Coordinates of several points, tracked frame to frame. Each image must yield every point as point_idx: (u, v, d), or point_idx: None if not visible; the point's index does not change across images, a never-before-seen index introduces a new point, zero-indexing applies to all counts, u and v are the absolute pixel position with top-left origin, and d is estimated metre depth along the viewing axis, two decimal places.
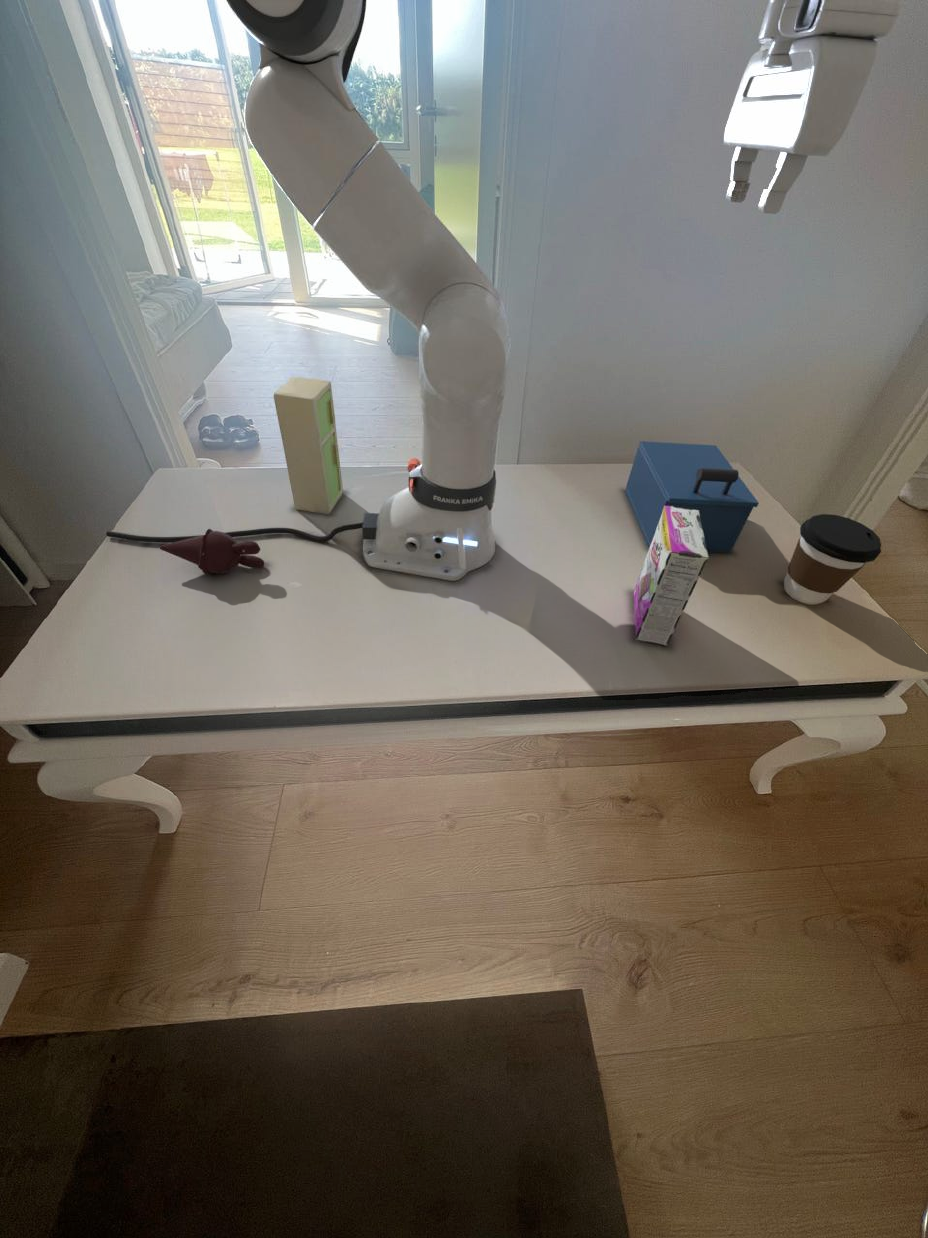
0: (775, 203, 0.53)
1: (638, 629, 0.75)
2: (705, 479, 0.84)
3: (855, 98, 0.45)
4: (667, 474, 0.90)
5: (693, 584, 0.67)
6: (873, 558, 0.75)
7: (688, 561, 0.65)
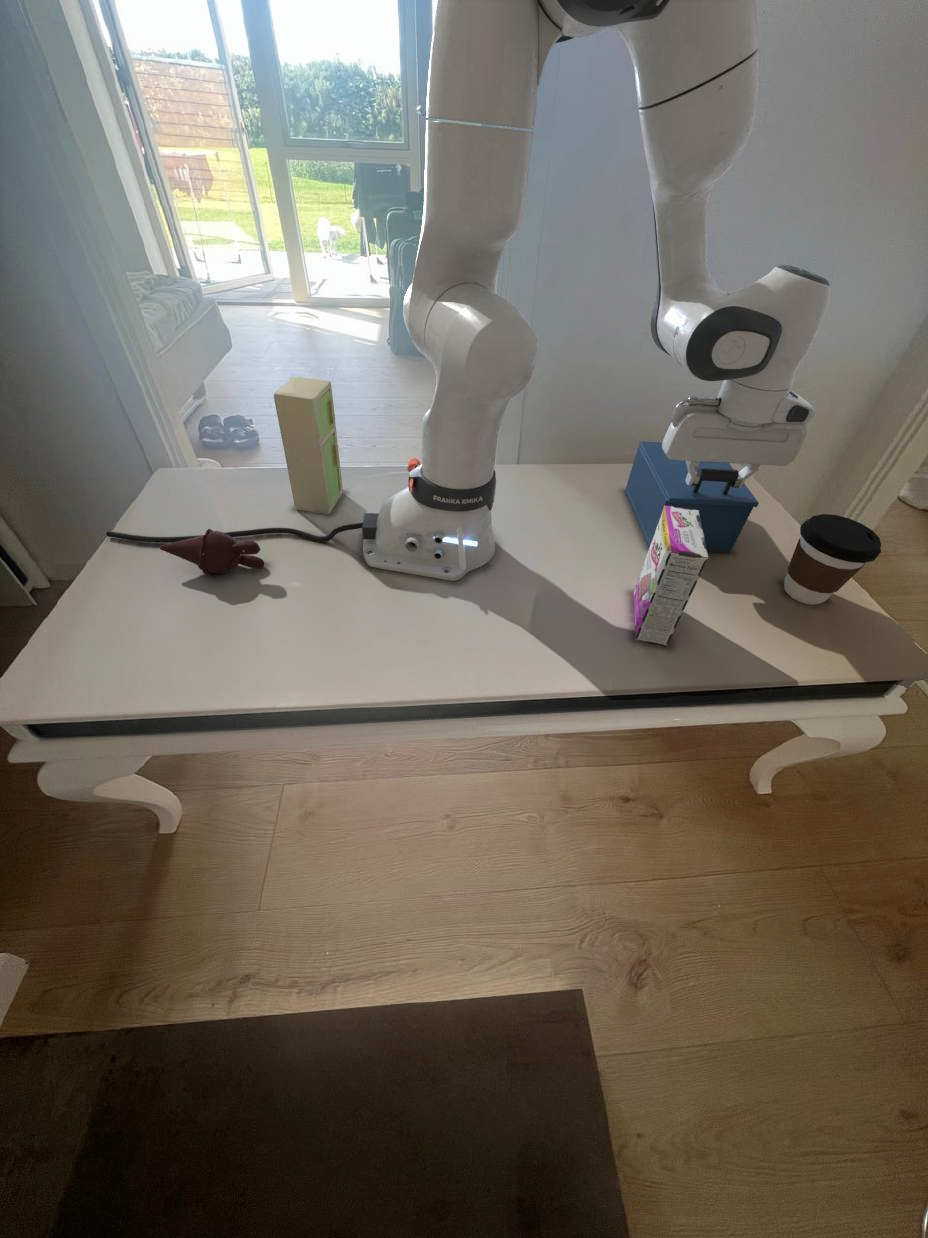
0: None
1: (638, 629, 0.75)
2: (705, 479, 0.84)
3: None
4: (667, 474, 0.90)
5: (693, 584, 0.67)
6: (873, 558, 0.75)
7: (688, 561, 0.65)
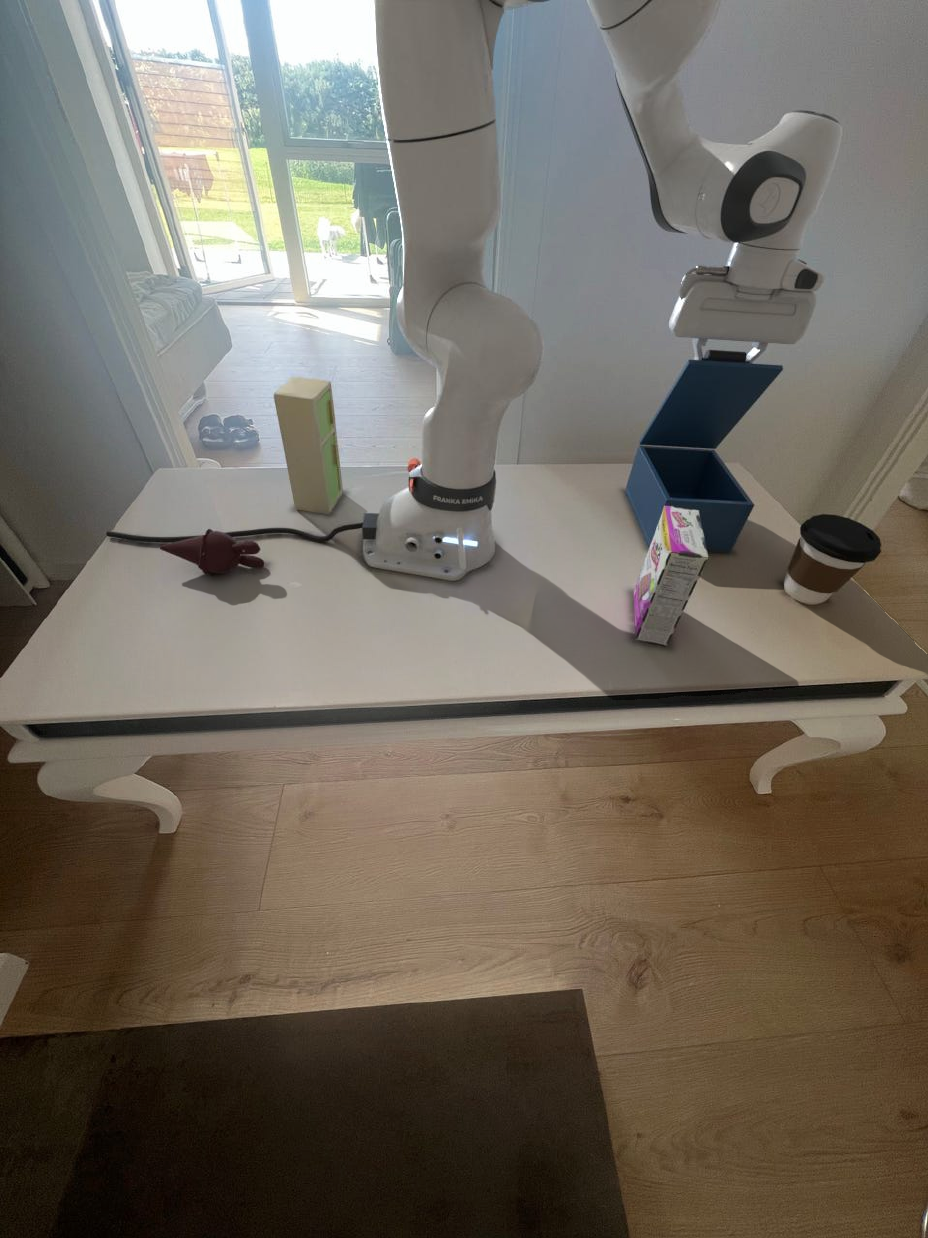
0: None
1: (638, 629, 0.75)
2: (715, 354, 0.82)
3: None
4: None
5: (693, 584, 0.67)
6: (873, 558, 0.75)
7: (688, 561, 0.65)
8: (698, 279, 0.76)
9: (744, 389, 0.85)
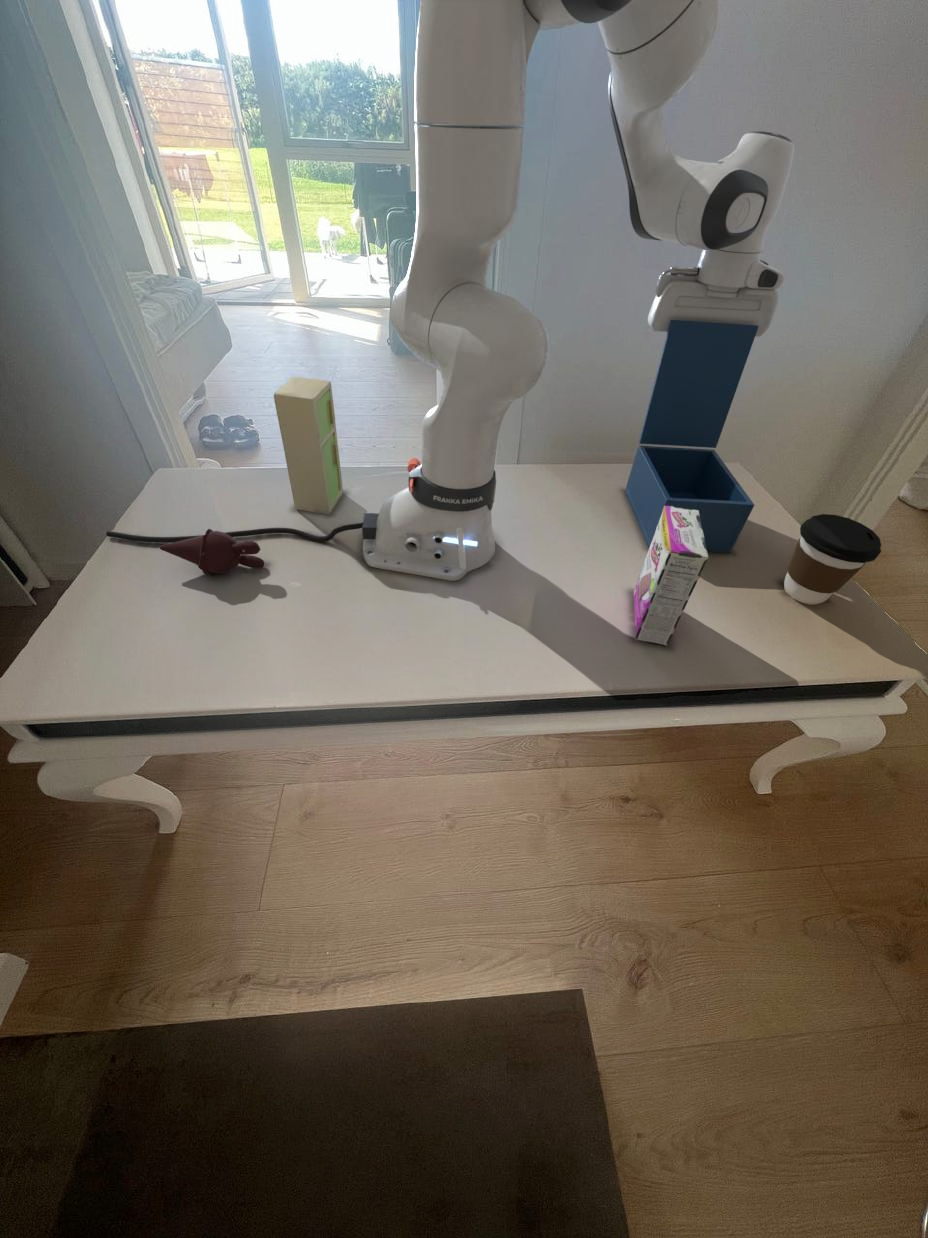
0: None
1: (638, 629, 0.75)
2: None
3: None
4: None
5: (693, 584, 0.67)
6: (873, 558, 0.75)
7: (688, 561, 0.65)
8: (672, 279, 0.85)
9: (728, 355, 0.90)
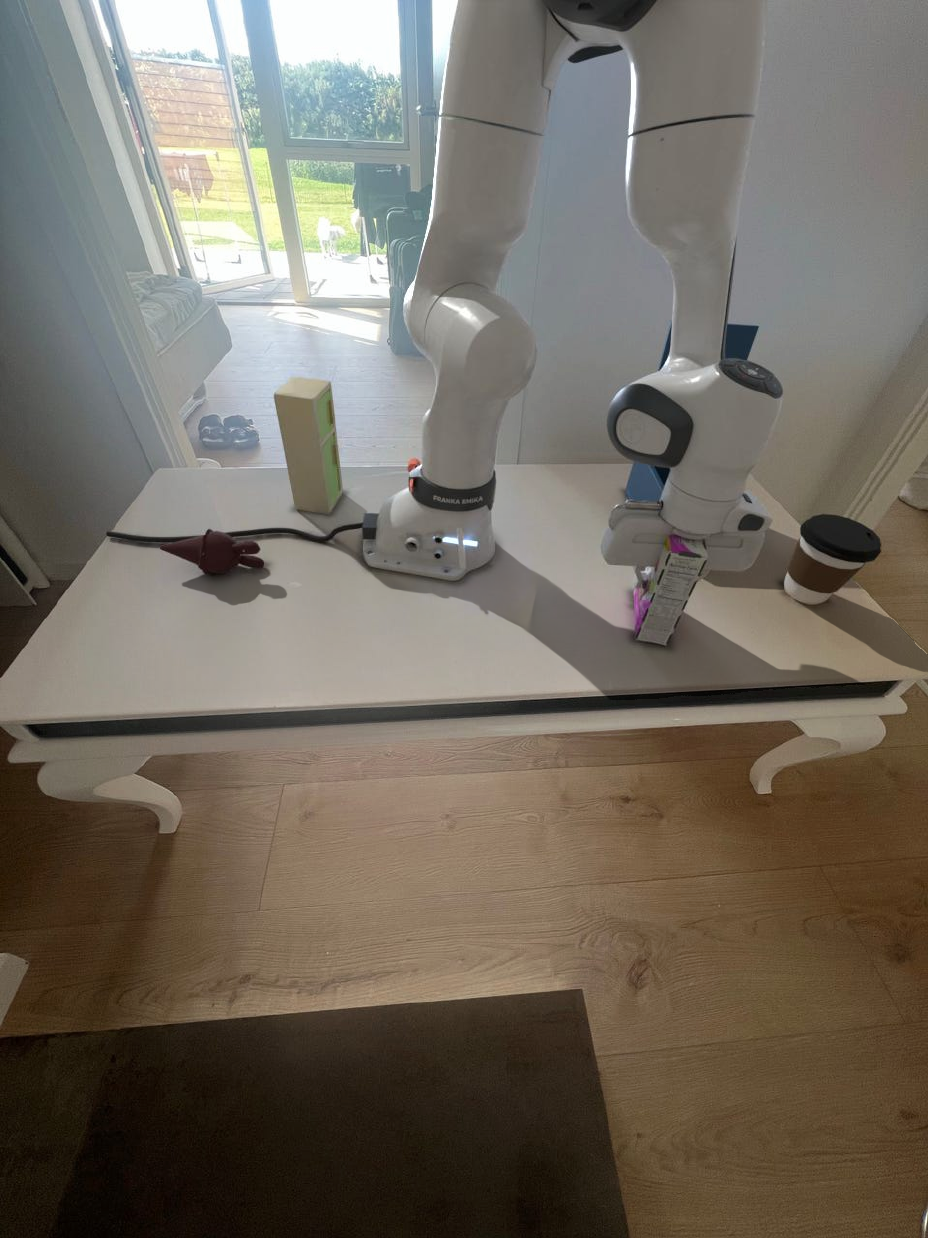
0: None
1: (638, 629, 0.75)
2: None
3: None
4: None
5: (693, 584, 0.67)
6: (873, 558, 0.75)
7: (688, 561, 0.65)
8: (629, 513, 0.66)
9: (728, 355, 0.90)
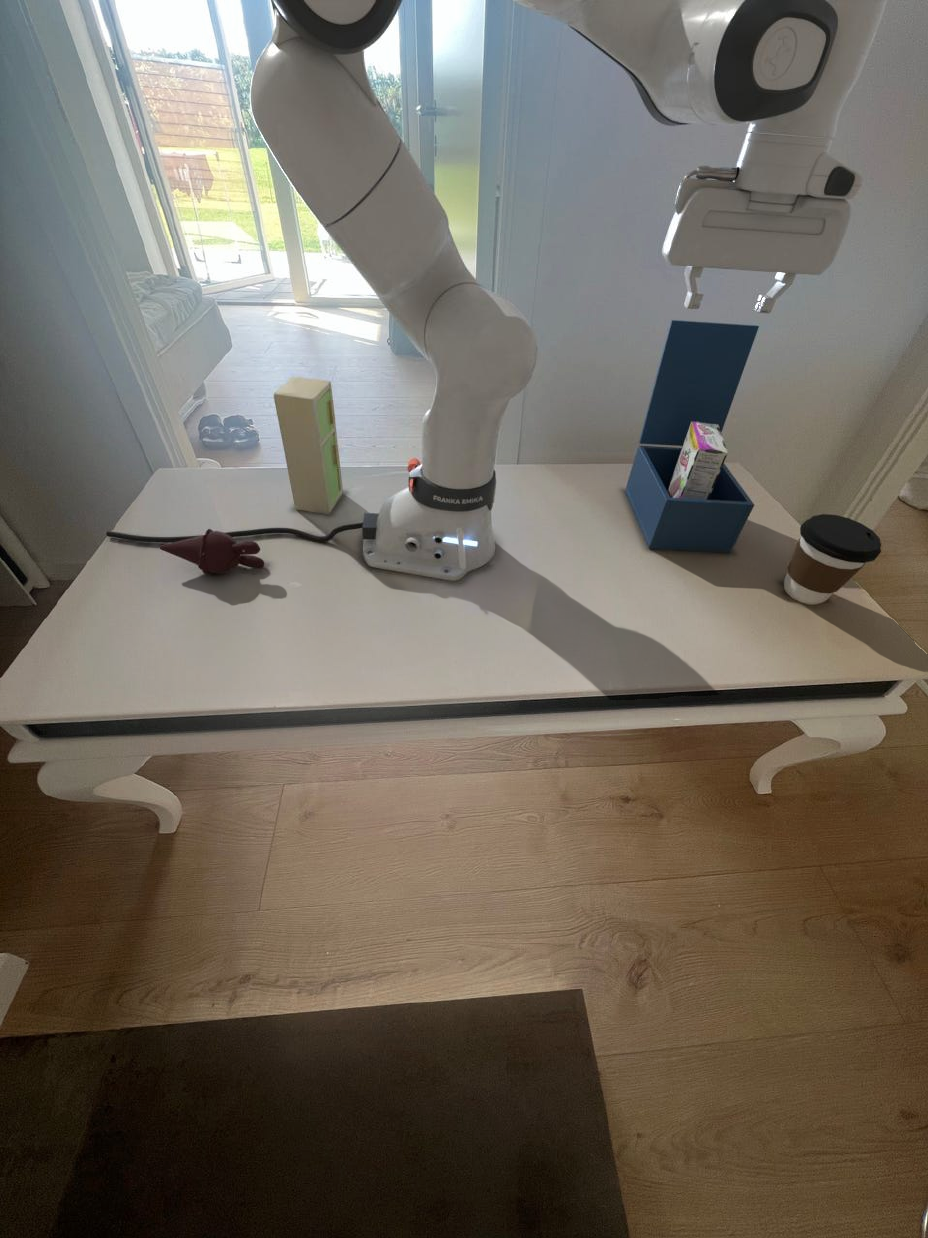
0: None
1: None
2: None
3: None
4: None
5: (715, 477, 0.86)
6: (873, 558, 0.75)
7: (712, 457, 0.84)
8: (699, 186, 0.59)
9: (728, 355, 0.90)
